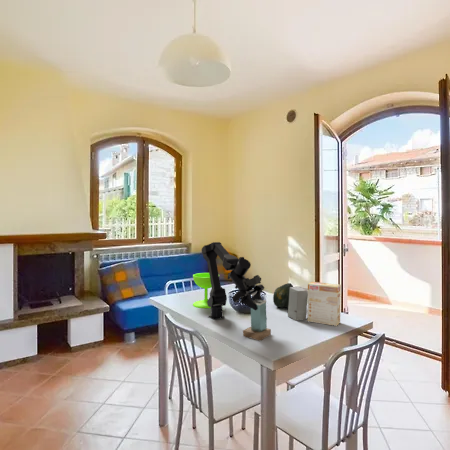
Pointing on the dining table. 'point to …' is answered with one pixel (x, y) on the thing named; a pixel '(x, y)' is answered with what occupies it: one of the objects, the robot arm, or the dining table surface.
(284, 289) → the squash
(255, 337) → the walnut block
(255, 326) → the tea tin
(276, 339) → the dining table surface
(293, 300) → the skincare box
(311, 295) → the coffeecake box
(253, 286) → the robot arm
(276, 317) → the dining table surface
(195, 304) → the wineglass
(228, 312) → the dining table surface
